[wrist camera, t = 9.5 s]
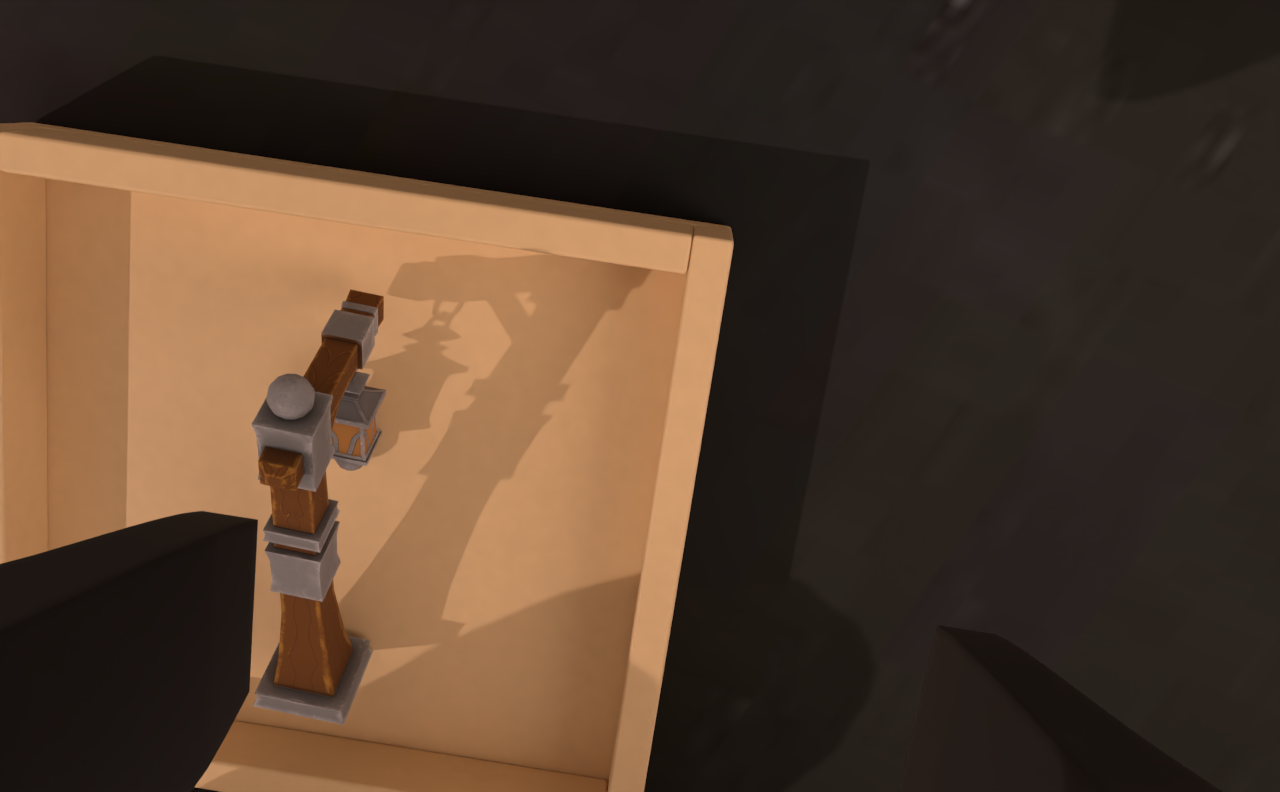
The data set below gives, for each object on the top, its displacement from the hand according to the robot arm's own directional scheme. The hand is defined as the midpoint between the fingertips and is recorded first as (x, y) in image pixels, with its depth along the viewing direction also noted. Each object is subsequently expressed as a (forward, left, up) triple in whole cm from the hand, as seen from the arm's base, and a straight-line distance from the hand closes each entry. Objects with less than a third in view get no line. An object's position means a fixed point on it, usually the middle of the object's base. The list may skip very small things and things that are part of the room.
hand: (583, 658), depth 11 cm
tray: (+6, +3, -10) cm, 12 cm away
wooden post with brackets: (+6, +3, -10) cm, 12 cm away
